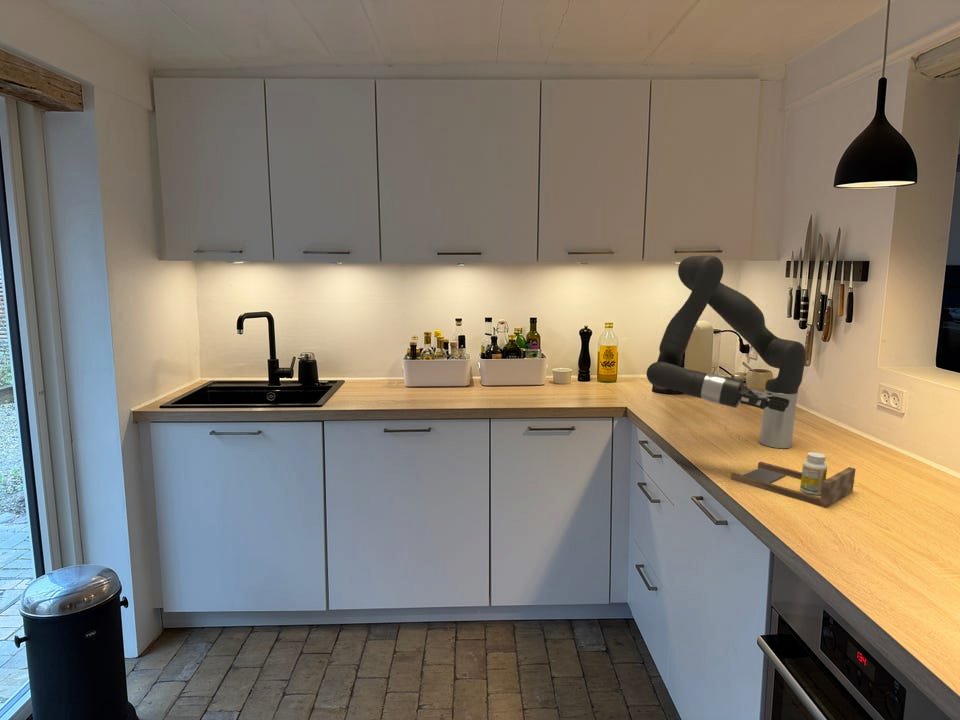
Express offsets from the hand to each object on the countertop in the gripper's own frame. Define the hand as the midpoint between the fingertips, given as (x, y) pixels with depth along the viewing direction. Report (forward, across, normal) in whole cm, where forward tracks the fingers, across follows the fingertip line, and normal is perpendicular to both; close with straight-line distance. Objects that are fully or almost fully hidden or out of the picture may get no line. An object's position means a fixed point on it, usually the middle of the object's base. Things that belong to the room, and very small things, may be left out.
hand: (787, 405), depth 159 cm
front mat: (-2, +2, +20) cm, 21 cm away
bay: (+4, 0, +20) cm, 20 cm away
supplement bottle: (+10, -1, +20) cm, 22 cm away
